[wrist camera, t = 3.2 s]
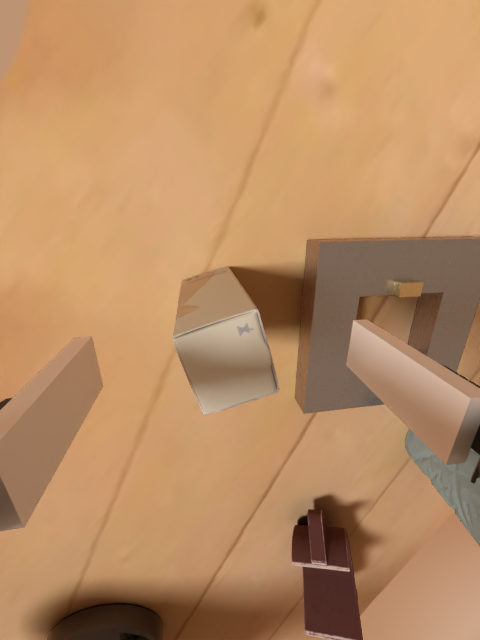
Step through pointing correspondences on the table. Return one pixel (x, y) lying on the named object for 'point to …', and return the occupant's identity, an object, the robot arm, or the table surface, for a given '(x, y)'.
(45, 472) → the robot arm
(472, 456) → the embossed green cup
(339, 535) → the bracket
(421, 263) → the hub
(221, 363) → the box
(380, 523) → the table surface
